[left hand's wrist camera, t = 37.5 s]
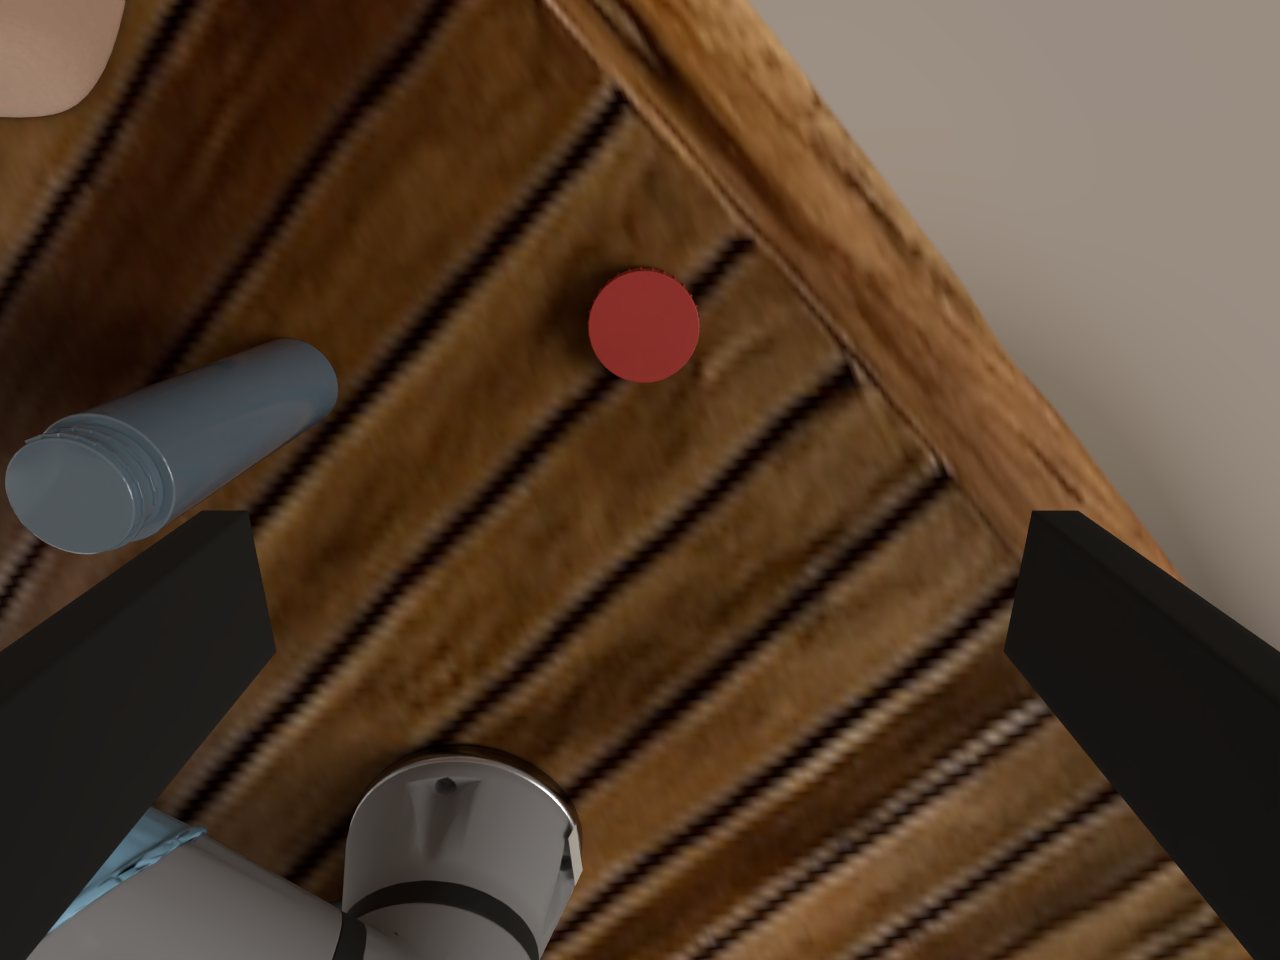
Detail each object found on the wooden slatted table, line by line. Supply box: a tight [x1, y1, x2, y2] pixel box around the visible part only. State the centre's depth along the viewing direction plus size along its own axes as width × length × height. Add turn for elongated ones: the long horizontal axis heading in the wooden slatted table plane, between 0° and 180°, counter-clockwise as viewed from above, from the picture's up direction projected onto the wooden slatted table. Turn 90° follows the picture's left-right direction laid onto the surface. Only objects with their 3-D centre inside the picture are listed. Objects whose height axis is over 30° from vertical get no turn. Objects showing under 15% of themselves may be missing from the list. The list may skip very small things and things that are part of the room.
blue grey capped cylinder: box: [5, 338, 338, 554], centre depth 31 cm, size 5×5×16 cm
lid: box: [587, 266, 700, 383], centre depth 37 cm, size 6×6×2 cm
